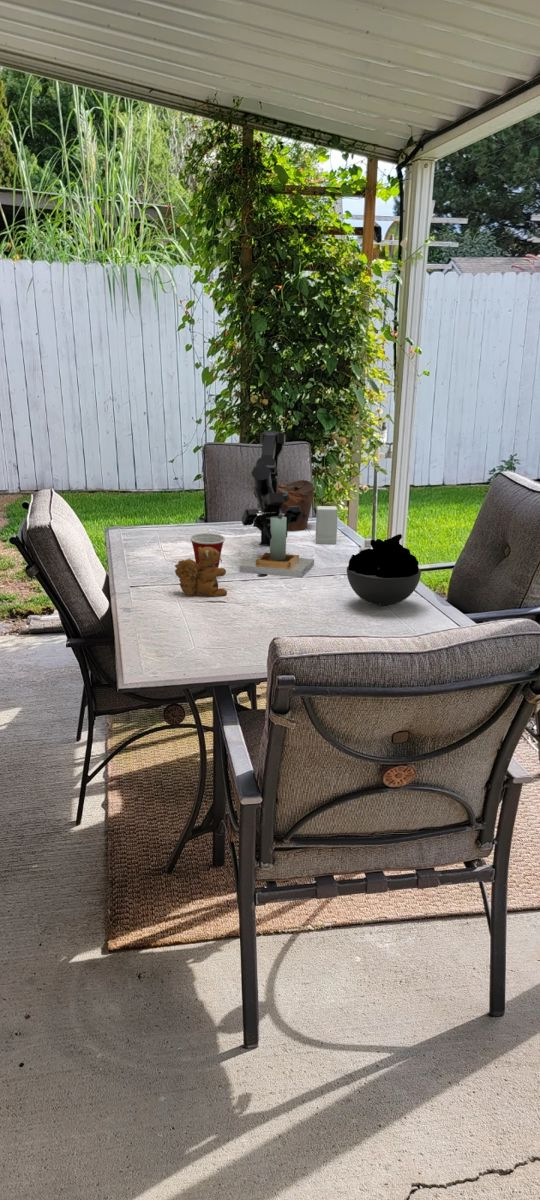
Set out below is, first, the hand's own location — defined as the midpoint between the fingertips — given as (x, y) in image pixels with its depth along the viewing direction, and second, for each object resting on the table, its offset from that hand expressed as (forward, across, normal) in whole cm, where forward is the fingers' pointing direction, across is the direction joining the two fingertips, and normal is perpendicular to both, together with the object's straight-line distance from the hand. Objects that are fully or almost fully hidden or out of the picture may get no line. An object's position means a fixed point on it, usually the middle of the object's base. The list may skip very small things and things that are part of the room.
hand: (278, 537), depth 272 cm
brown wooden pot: (-35, +30, +50) cm, 67 cm away
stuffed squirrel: (+21, -32, -7) cm, 38 cm away
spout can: (+4, 0, +5) cm, 7 cm away
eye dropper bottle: (+17, +24, -3) cm, 30 cm away
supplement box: (-15, +32, +30) cm, 46 cm away
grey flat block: (+7, 0, +7) cm, 10 cm away
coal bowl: (+40, +12, -26) cm, 49 cm away
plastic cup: (+8, -24, +7) cm, 26 cm away
